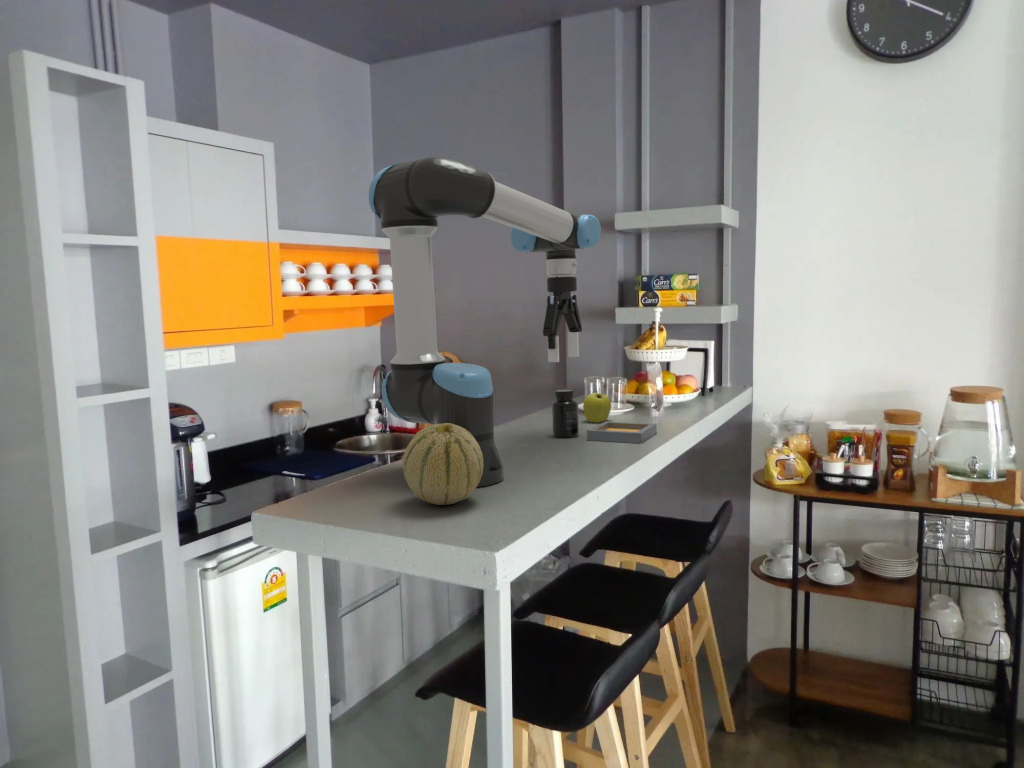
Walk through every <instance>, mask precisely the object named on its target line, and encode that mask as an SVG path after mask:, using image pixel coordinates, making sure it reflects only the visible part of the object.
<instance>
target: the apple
mask: <svg viewBox="0 0 1024 768" xmlns="http://www.w3.org/2000/svg"><path fill="white" fill-rule="evenodd" d="M598 390H600V388H598ZM582 406H583V414H584V417H585V418H586V419H585V420H586V421H588V422H590V423H597V424H598V423H603V422H605V421H608V420H607V419H608V418H609V415H610V412H611V408H612V402H611V400H610V397H608V395H606V394H605V393H604V394H603V393H600V392H592V393H590V394H588V395H587V396H586V397H585V398H584V401H583V405H582Z"/></svg>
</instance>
